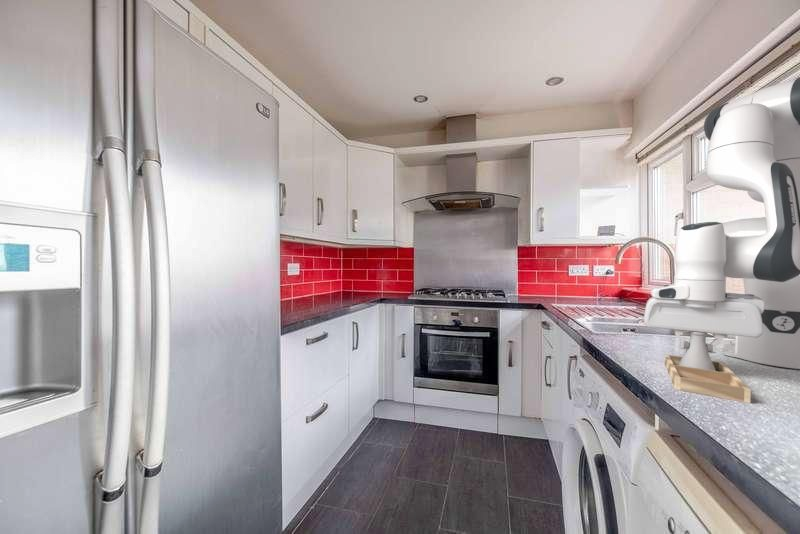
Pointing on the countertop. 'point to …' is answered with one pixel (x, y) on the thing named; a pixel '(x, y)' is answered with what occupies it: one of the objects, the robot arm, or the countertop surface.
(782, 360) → the robot arm
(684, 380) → the oak caddy
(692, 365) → the flask
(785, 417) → the countertop surface
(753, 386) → the countertop surface
